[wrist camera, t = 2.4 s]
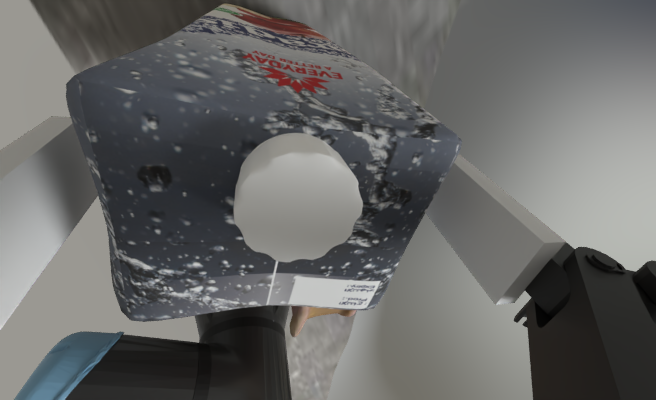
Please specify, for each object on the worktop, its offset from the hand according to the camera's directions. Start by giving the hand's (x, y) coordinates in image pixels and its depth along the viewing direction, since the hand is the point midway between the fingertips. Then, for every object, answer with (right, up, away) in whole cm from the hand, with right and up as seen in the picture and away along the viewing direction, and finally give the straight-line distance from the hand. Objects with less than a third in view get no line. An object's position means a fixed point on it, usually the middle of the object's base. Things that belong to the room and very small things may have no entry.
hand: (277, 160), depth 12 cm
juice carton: (-5, +12, +17) cm, 21 cm away
